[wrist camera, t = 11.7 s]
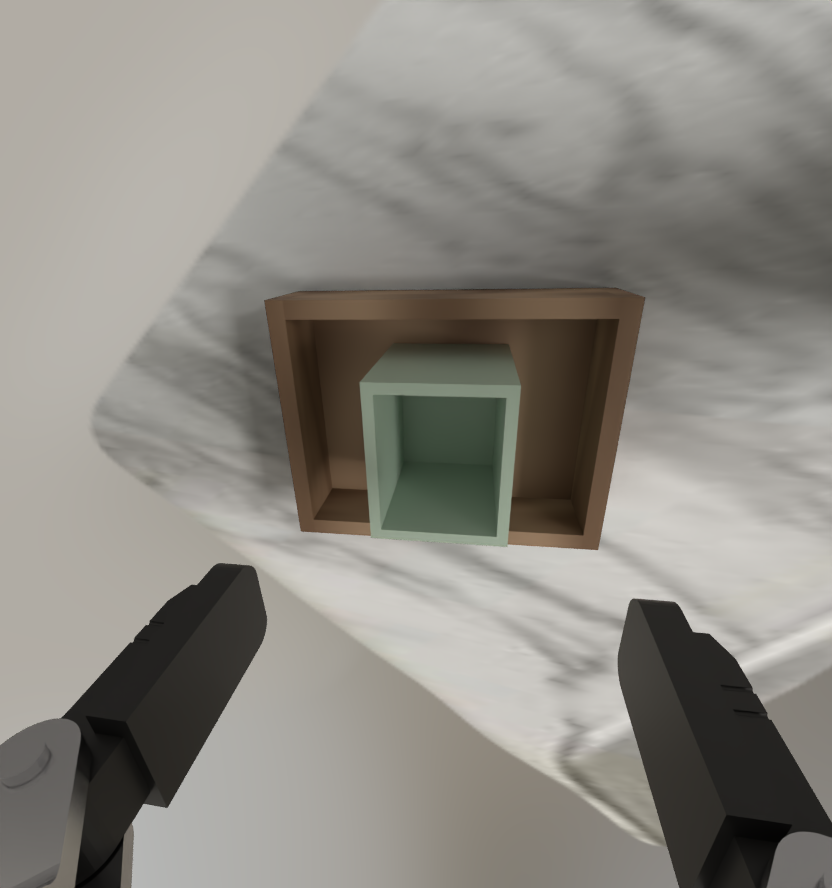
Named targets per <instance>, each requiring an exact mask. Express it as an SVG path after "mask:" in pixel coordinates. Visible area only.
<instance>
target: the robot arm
mask: <svg viewBox="0 0 832 888" xmlns="http://www.w3.org/2000/svg"><path fill="white" fill-rule="evenodd" d="M266 625H267V616H266V611H265V607H264V602H263V599H262V594H261V590H260V586H259V581H258V577H257V573H256V570H255V569H254V567H252V566H249V565H237V564H225V563H219V564H216V565H215V566H213V567H212V568H211V570H210V571H209V572H208V573H207V574H206V575H205V576H204V578H203V579H202V580H201V581H200V582H199V583H198V585H190V586H189V587H188V588H186V589H185V590H183V591H182V592H180V593H179V594H177V595H176V596H174V597H173V598H171V599H170V600H168V601H167V602H166V604H165V605H164V606H163V607H162V608H161V609H160V610H159V611H158V612H157V613H156V615H155V616H154V617H153V618H152V619H151V620H150V623H149V625H146V626H145V627H144V628H143V629H142V630H141V631H140V632H139V633H138V634H137V636H136V637H135V639H134V642H133V643H129V644H128V646H127V647H126V648H125V649H124V650H123V651H122V652H121V653H120V655H118V657H117V658H116V659H115V660H114V661H113V662H112V663H111V665H109V667H108V668H107V669H106V670H105V671H104V672H103V673H102V674H101V675H100V676H99V678H98V679H97V680H96V681H95V682H94V683H93V684H92V685H91V686H90V688H89V689H88V690H87V691H86V692H85V693H84V694H83V695H82V696H81V697H80V699H79V700H78V701H77V702H76V703H75V704H74V705H73V706H72V707H71V709H70V710H69V711H68V712H67V713H66V714H65V715H64V716H63V717H62V718H59V719H51V720H46V721H43V722H40V723H37V724H34V725H32V726H30V727H28V728H26V729H24V730H22V731H20V732H19V733H17V734H15V735H14V736H12V737H11V738H9V739H8V740H7V741H5V742H4V743H3V744H1V745H0V888H131V883H132V861H133V840H134V831H133V825H132V821H133V820H134V818H135V817H136V815H137V813H138V812H139V810H140V809H141V807H142V805H143V804H149V805H154V806H160V807H165V808H167V807H168V806H169V804H170V802H171V801H172V799H173V797H174V795H175V793H176V792H177V790H178V789H179V787H180V785H181V783H182V782H183V780H184V778H185V776H186V775H187V773H188V771H189V769H190V768H191V766H192V764H193V762H194V761H195V759H196V757H197V755H198V754H199V752H200V750H201V748H202V747H203V745H204V743H205V741H206V740H207V738H208V736H209V735H210V733H211V731H212V729H213V728H214V726H215V724H216V722H217V721H218V719H219V717H220V715H221V714H222V711H223V710H224V708H225V707H226V705H227V703H228V701H229V700H230V698H231V696H232V694H233V693H234V691H235V689H236V687H237V686H238V684H239V682H240V680H241V678H242V677H243V675H244V673H245V672H246V670H247V668H248V667H249V665H250V663H251V661H252V659H253V658H254V656H255V654H256V652H257V651H258V649H259V647H260V645H261V644H262V641H263V639H264V636H265V632H266ZM618 674H619V681H620V686H621V689H622V693H623V696H624V700H625V703H626V707H627V710H628V713H629V717H630V720H631V724H632V727H633V731H634V734H635V737H636V741H637V744H638V748H639V751H640V755H641V758H642V761H643V765H644V768H645V772H646V775H647V779H648V782H649V785H650V789H651V792H652V796H653V799H654V803H655V806H656V809H657V813H658V816H659V820H660V823H661V827H662V830H663V833H664V837H665V840H666V844H667V847H668V850H669V854H670V857H671V861H672V864H673V868H674V871H675V874H676V878H677V881H678V885H679V888H832V822H831V821H830V819H829V817H828V816H827V814H826V812H825V811H824V809H823V807H822V805H821V804H820V802H819V800H818V799H817V797H816V795H815V793H814V792H813V790H812V789H811V787H810V785H809V783H808V782H807V780H806V778H805V776H804V775H803V773H802V771H801V770H800V768H799V766H798V764H797V763H796V761H795V759H794V758H793V756H792V754H791V753H790V751H789V749H788V747H787V746H786V744H785V742H784V741H783V739H782V738H781V736H780V734H779V732H778V730H777V729H776V727H775V725H774V724H773V722H772V720H769V719H768V717H767V712H766V710H765V708H764V707H763V705H762V703H761V701H760V700H759V698H758V696H757V695H756V694H754V693H753V690H752V689H753V688H752V686H751V684H750V683H749V681H748V679H747V678H746V676H745V674H744V673H743V671H742V669H741V667H740V666H739V664H738V662H737V661H736V659H735V658H734V657H733V656H732V655H731V654H730V653H729V652H728V651H727V650H726V649H725V648H724V647H722V646H721V645H720V644H719V643H718V642H717V641H716V640H715V639H714V638H713V637H712V636H711V635H710V634H706V633H695V632H693V631H692V629H691V627H690V626H689V624H688V622H687V620H686V618H685V616H684V614H683V612H682V610H681V608H680V607H679V606H678V604H677V603H675V602H670V601H658V600H646V599H632V600H631V601H630V603H629V607H628V611H627V616H626V620H625V625H624V629H623V634H622V638H621V643H620V647H619V652H618Z"/></svg>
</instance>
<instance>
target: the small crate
mask: <svg viewBox="0 0 832 888" xmlns="http://www.w3.org/2000/svg"><path fill="white" fill-rule="evenodd" d="M520 392H521V384H520V380H519V377H518V374H517V370H516V367H515V363H514V360H513V357H512V353H511V350H510V347H509V344H413V343H393V344H392V345H391V346H390V348H389V349H388V350H387V351H386V352H385V353H384V355H383V356H382V357H381V358H380V359H379V360H378V362H377V363H376V364H375V365H374V366H373V367H372V368H371V370H370V371H369V372H368V373H367V374H366V375H365V377H364V378H363V379H362V380H361V381H360V395H361V409H362V422H363V436H364V449H365V463H366V476H367V490H368V503H369V517H370V530H371V538H381V539H396V540H411V541H426V542H441V543H456V544H471V545H486V546H501V547H507V545H508V533H509V521H510V510H511V498H512V486H513V474H514V463H515V451H516V439H517V427H518V416H519V404H520Z"/></svg>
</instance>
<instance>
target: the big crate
mask: <svg viewBox="0 0 832 888" xmlns="http://www.w3.org/2000/svg"><path fill="white" fill-rule="evenodd" d="M264 301H265V308H266V314H267V320H268V327H269V333H270V339H271V346H272V352H273V358H274V364H275V371H276V377H277V383H278V390H279V396H280V402H281V409H282V415H283V421H284V428H285V434H286V440H287V446H288V453H289V459H290V465H291V472H292V478H293V484H294V491H295V497H296V503H297V510H298V516H299V522H300V528H301V531H303V532H319V533H335V534H351V535H367V536H371V530H370V517H369V503H368V490H367V476H366V463H365V449H364V436H363V422H362V409H361V395H360V381H361V380H362V379H363V378H364V377H365V375H366V374H367V373H368V372H369V371H370V370H371V368H372V367H373V366H374V365H375V364H376V363H377V362H378V360H379V359H380V358H381V357H382V356H383V355H384V353H385V352H386V351H387V350H388V349H389V348H390V346H391V345H392V344H393V343H413V344H509V347H510V350H511V353H512V357H513V360H514V363H515V367H516V370H517V374H518V377H519V380H520V384H521V392H520V404H519V416H518V427H517V439H516V451H515V463H514V474H513V486H512V498H511V510H510V521H509V533H508V544H511V545H527V546H542V547H558V548H574V549H590V550H598V547H599V542H600V537H601V531H602V526H603V521H604V515H605V510H606V505H607V499H608V494H609V488H610V483H611V478H612V472H613V467H614V462H615V456H616V451H617V446H618V440H619V435H620V430H621V424H622V419H623V414H624V408H625V403H626V397H627V392H628V387H629V381H630V376H631V371H632V365H633V360H634V355H635V349H636V344H637V339H638V333H639V328H640V322H641V317H642V312H643V306H644V301H645V297H643V296H640V295H636V294H633V293H630V292H627V291H624V290H621V289H618V288H552V289H460V290H368V291H298V292H295V293H291V294H287V295H283V296H279V297H275V298H272V299H268V300H264Z"/></svg>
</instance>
